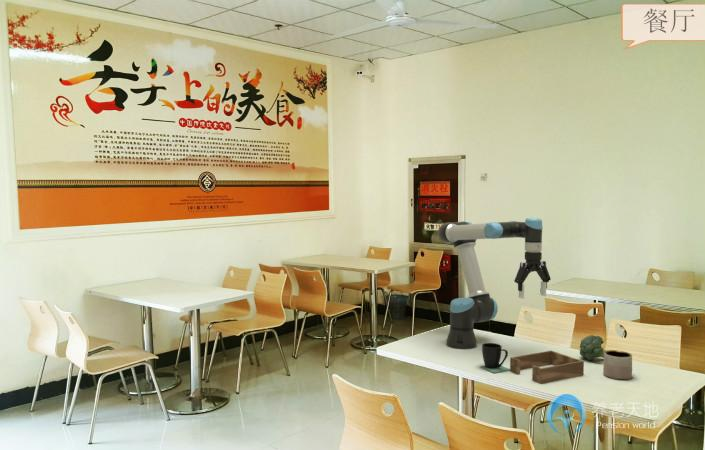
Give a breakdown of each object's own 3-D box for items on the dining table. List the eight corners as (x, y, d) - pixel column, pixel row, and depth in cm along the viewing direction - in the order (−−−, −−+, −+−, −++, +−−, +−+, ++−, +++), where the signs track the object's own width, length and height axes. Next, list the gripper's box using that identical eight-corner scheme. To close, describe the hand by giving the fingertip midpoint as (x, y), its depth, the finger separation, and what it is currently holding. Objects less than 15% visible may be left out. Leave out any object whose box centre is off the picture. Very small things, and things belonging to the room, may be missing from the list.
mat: (480, 367, 243) (480, 366, 242) (496, 364, 246) (496, 363, 246) (493, 373, 234) (493, 372, 234) (510, 370, 238) (510, 369, 238)
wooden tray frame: (510, 371, 238) (510, 357, 237) (550, 363, 248) (551, 350, 248) (541, 383, 222) (541, 369, 221) (583, 375, 232) (583, 361, 232)
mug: (500, 373, 233) (501, 350, 233) (478, 366, 243) (478, 344, 242) (512, 369, 238) (512, 347, 238) (489, 362, 248) (489, 341, 247)
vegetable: (619, 361, 245) (588, 346, 245) (601, 374, 254) (572, 359, 254) (618, 340, 254) (589, 325, 254) (601, 353, 263) (572, 339, 263)
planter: (597, 374, 234) (597, 351, 234) (616, 370, 238) (616, 348, 238) (618, 381, 224) (619, 358, 224) (637, 378, 228) (638, 355, 228)
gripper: (518, 253, 246) (517, 300, 247) (559, 250, 257) (558, 295, 258) (506, 251, 253) (506, 297, 254) (546, 249, 264) (546, 293, 265)
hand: (532, 296), depth 256 cm, fingers open, 13 cm apart
